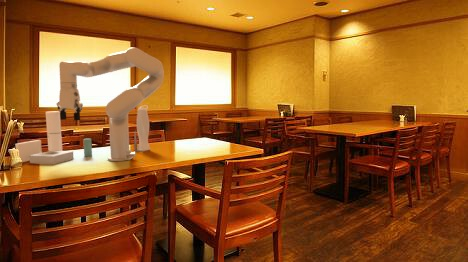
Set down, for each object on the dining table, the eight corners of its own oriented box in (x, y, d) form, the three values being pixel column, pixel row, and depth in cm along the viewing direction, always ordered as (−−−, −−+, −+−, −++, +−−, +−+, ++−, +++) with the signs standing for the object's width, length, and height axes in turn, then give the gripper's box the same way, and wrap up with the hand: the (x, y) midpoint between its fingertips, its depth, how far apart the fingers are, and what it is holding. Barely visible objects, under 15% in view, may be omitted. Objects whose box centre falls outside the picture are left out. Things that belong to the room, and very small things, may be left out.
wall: (42, 157, 176) (40, 140, 175) (20, 163, 162) (18, 143, 161) (39, 157, 176) (37, 140, 175) (17, 163, 163) (15, 143, 161)
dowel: (93, 156, 180) (92, 138, 179) (89, 157, 176) (88, 139, 175) (87, 155, 181) (86, 138, 180) (82, 157, 177) (81, 139, 176)
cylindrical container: (56, 155, 182) (53, 112, 180) (45, 155, 184) (42, 112, 181) (65, 153, 189) (62, 111, 186) (55, 153, 191) (52, 111, 188)
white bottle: (144, 148, 203) (142, 104, 200) (153, 150, 198) (151, 105, 195) (133, 150, 196) (131, 105, 193) (142, 152, 191) (140, 105, 188)
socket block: (73, 158, 171) (73, 151, 171) (53, 164, 158) (53, 156, 157) (51, 157, 174) (50, 150, 174) (30, 163, 161) (29, 155, 160)
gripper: (87, 86, 161) (88, 120, 163) (63, 86, 168) (64, 118, 170) (74, 86, 155) (76, 121, 156) (50, 86, 161) (51, 119, 163)
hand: (70, 119), depth 163 cm, fingers open, 9 cm apart
